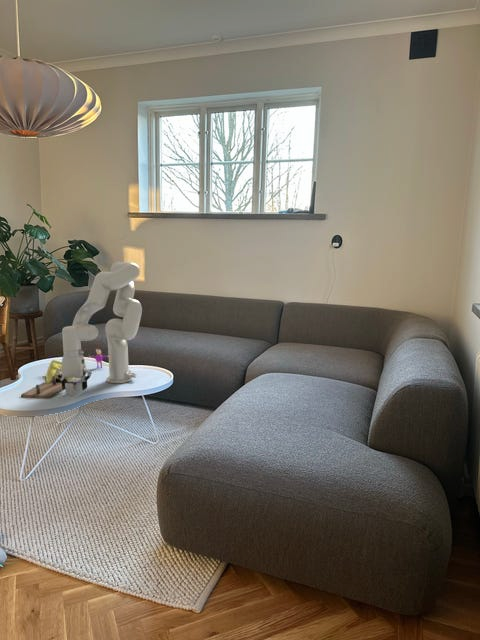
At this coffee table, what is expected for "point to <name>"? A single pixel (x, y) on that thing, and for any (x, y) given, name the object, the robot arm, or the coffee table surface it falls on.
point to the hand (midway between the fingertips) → (74, 388)
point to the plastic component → (51, 371)
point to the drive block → (73, 386)
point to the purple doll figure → (99, 356)
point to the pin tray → (44, 390)
